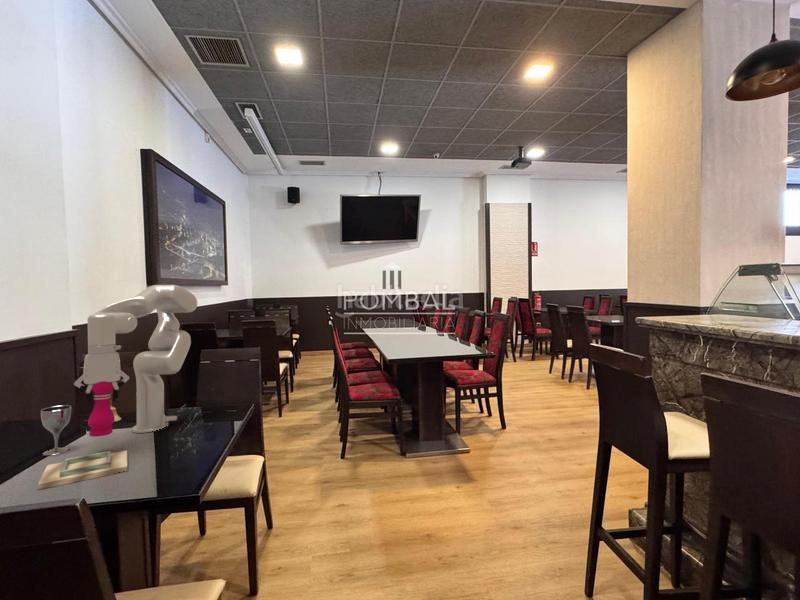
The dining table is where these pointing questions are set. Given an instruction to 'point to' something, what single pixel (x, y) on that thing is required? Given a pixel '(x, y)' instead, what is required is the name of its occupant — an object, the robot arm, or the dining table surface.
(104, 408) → the pepper mill
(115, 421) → the hand bell
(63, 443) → the dining table surface
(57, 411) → the wine glass
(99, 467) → the board
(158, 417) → the robot arm
